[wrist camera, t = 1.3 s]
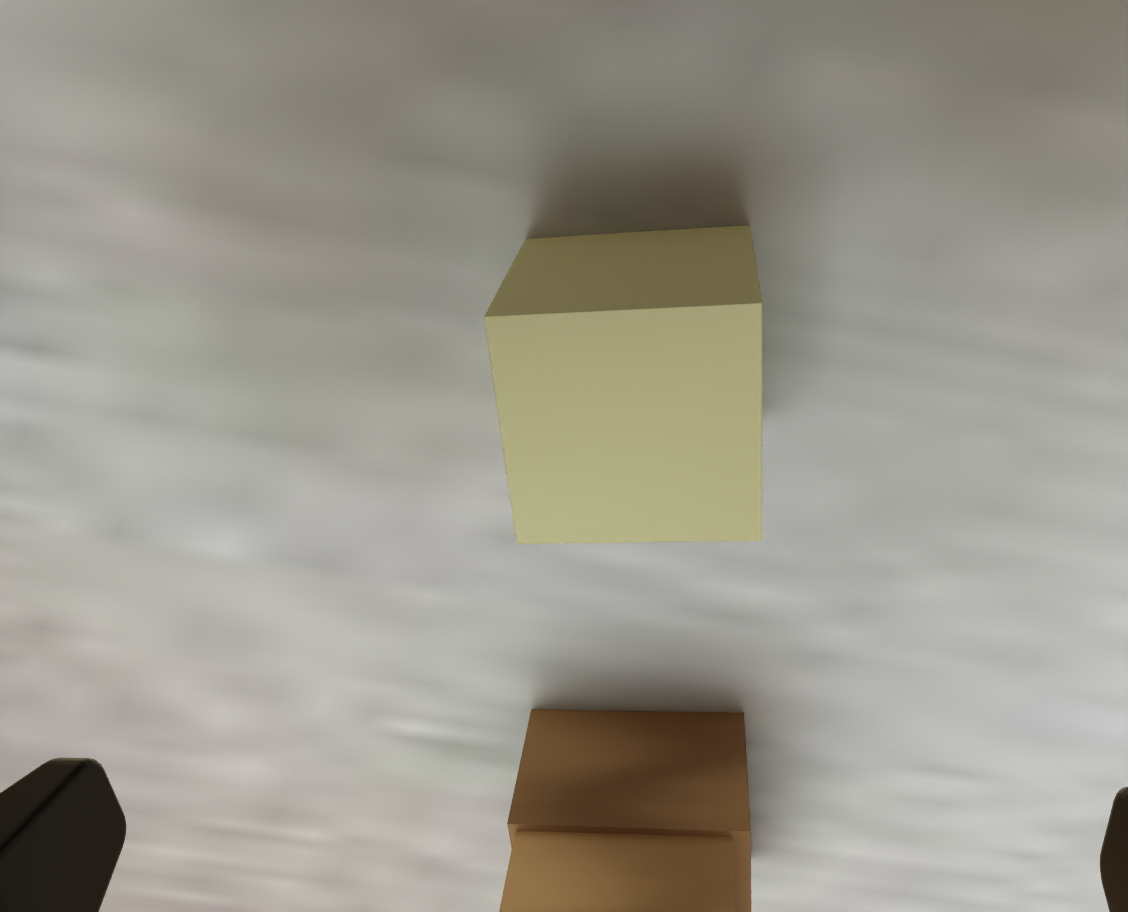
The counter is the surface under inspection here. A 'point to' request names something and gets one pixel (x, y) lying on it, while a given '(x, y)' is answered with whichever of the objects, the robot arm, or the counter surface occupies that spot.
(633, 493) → the sage block
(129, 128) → the counter surface
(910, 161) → the counter surface
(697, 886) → the oak block
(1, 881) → the robot arm
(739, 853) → the walnut base
